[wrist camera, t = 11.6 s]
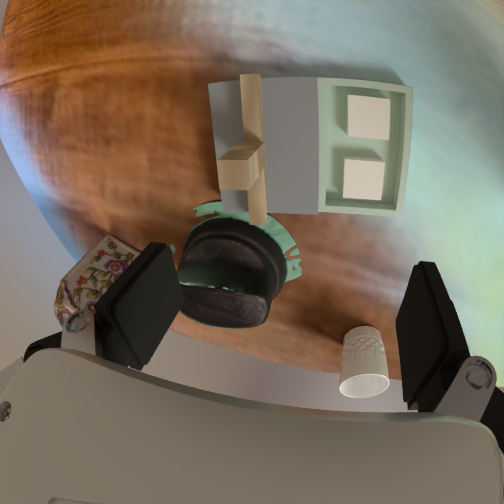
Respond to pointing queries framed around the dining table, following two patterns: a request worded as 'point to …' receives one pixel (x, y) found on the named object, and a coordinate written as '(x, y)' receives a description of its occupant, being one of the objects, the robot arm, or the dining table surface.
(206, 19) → the dining table surface
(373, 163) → the tile
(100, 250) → the decorative jar
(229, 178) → the tan bar
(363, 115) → the tile
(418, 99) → the dining table surface
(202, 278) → the dark round cap
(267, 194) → the board
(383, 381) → the white cup
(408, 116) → the tray
